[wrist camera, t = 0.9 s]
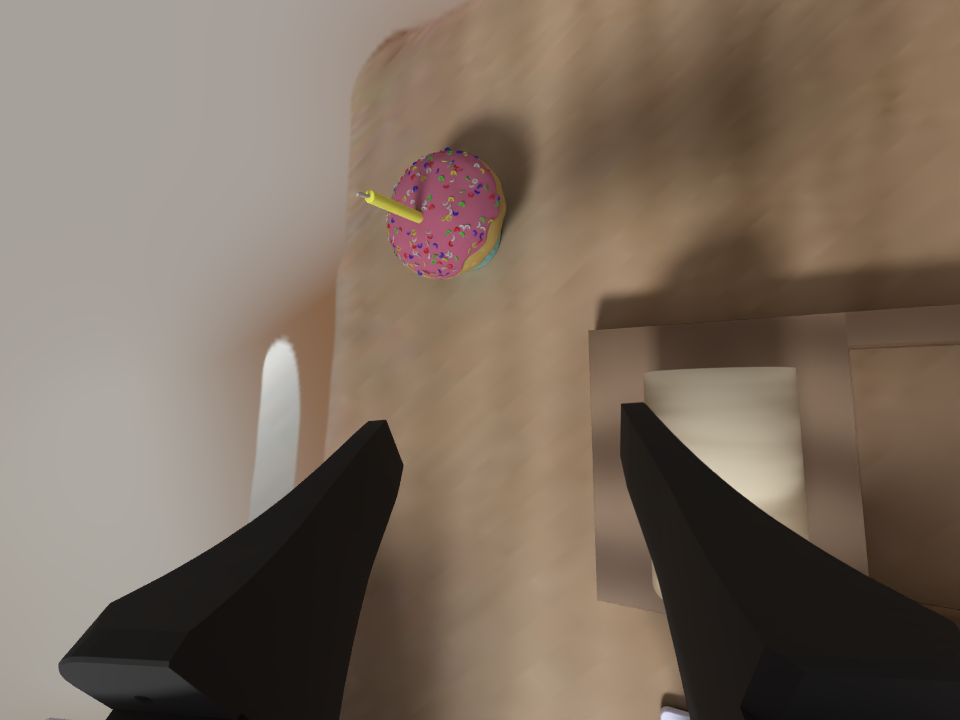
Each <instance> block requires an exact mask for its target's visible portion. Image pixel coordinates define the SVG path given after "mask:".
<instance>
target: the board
mask: <svg viewBox="0 0 960 720" xmlns="http://www.w3.org/2000/svg"><path fill="white" fill-rule="evenodd" d="M943 345H960V304H953V305H939V306H925V307H911V308H897V309H883V310H869V311H855V312H841V313H827V314H813V315H799V316H785V317H771V318H757V319H743V320H729V321H715V322H701V323H687V324H672V325H658V326H644V327H630V328H616V329H602V330H589V360H590V390H591V421H592V451H593V482H594V512H595V542H596V573H597V600H599V601H604V602H609V603H614V604H619V605H624V606H629V607H634V608H638V609H643V610H648V611H653V612H658V613H663V614H666V611H665V607H664V602H663V600H662V599H661V598H660V597H659V596H658V594H657V593H656V592H655V590H654V587H653V581H652V559H651V556H650V553H649V550H648V547H647V545H646V542H645V539H644V536H643V533H642V530H641V527H640V524H639V521H638V518H637V516H636V513H635V510H634V507H633V504H632V501H631V498H630V495H629V492H628V489H627V485H626V481H625V476H624V472H623V467H622V462H621V458H620V427H621V404H622V403H636V402H644V379H643V373H644V372H651V371H663V370H679V369H699V368H729V367H793V368H796V375H797V388H798V401H799V414H800V426H801V439H802V452H803V465H804V477H805V490H806V503H807V516H808V528H809V541H810V542H811V543H813V544H814V545H816V546H817V547H819V548H821V549H822V550H824V551H825V552H827V553H829V554H830V555H832V556H834V557H835V558H837V559H839V560H841V561H842V562H844V563H846V564H847V565H849V566H851V567H853V568H854V569H856V570H858V571H859V572H861V573H863V574H865V575H866V576H868V577H869V572H868V561H867V550H866V539H865V528H864V516H863V505H862V494H861V483H860V472H859V461H858V450H857V439H856V428H855V417H854V406H853V395H852V384H851V372H850V361H849V350H848V349H870V348H894V347H919V346H943ZM644 403H645V402H644ZM921 605H923V606H925V607H926V608H928V609H930V610H932V611H934V612H936V613H938V614H940V615H942V616H944V617H945V618H947V619H949V620H951V621H953V622H954V623H955V624H956V625H957V626H958V627H959V628H960V610H957V609H950V608H944V607H937V606H931V605H924V604H921Z"/></svg>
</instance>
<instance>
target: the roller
mask: <svg viewBox="0 0 960 720" xmlns="http://www.w3.org/2000/svg"><path fill="white" fill-rule="evenodd" d="M643 379H644V402H645V404H646V405H647V406H648V407H649V408H650V409H651V410H652V411H653V412H654V413H655V415H656V416H657V417H658V418H659V419H660V420H661V421H662V422H663V423H664V424H665V425H666V426H667V427H668V428H669V430H670V431H671V432H672V433H673V434H674V435H675V436H676V437H677V438H678V439H679V440H680V441H681V442H682V443H683V444H684V445H685V446H687V447H688V448H689V449H690V450H691V451H692V452H693V453H694V454H695V455H696V456H697V457H698V458H699V459H700V460H701V461H702V462H704V463H705V464H706V465H707V466H708V467H709V468H710V469H711V470H713V471H714V472H715V473H716V474H717V475H718V476H720V477H721V478H722V479H723V480H724V481H725V482H727V483H728V484H729V485H730V486H732V487H733V488H734V489H735V490H737V491H738V492H739V493H740V494H742V495H743V496H744V497H746V498H747V499H748V500H750V501H751V502H752V503H753V504H755V505H756V506H757V507H759V508H760V509H762V510H763V511H764V512H766V513H767V514H769V515H770V516H771V517H773V518H774V519H776V520H777V521H779V522H780V523H782V524H783V525H785V526H786V527H788V528H789V529H791V530H793V531H794V532H796V533H797V534H799V535H800V536H802V537H803V538H805V539H806V540H808V541H809V528H808V516H807V503H806V490H805V477H804V465H803V452H802V439H801V426H800V414H799V401H798V388H797V375H796V368H793V367H729V368H699V369H679V370H663V371H651V372H644V373H643ZM809 542H810V541H809ZM652 581H653V587H654V590H655V592H656V593H657V594H658V596H659V597H660V598H661V599H662V600H663V598H662V594H661V590H660V586H659V582H658V578H657V575H656V572H655V568H654V565H653V562H652Z"/></svg>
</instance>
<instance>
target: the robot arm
mask: <svg viewBox="0 0 960 720" xmlns="http://www.w3.org/2000/svg"><path fill="white" fill-rule="evenodd" d="M620 458H621V462H622V467H623V472H624V476H625V481H626V485H627V489H628V492H629V495H630V498H631V501H632V504H633V507H634V510H635V513H636V516H637V518H638V521H639V524H640V527H641V530H642V533H643V536H644V539H645V542H646V545H647V547H648V550H649V553H650V556H651V559H652V562H653V565H654V568H655V572H656V575H657V578H658V582H659V586H660V590H661V594H662V598H663V602H664V607H665V611H666V615H667V619H668V623H669V627H670V632H671V636H672V640H673V644H674V649H675V653H676V657H677V662H678V666H679V671H680V675H681V680H682V684H683V689H684V693H685V698H686V702H687V707H688V711H689V712H686V711H683V710H679V709H676V708H672V707H668V706H665V707H662V709H661V711H660V720H960V628H959V627H958V626H957V625H956V624H955V623H954V622H953V621H951V620H949V619H947V618H945V617H944V616H942V615H940V614H938V613H936V612H934V611H932V610H930V609H928V608H926V607H925V606H923V605H921V604H919V603H917V602H915V601H913V600H911V599H909V598H907V597H905V596H904V595H902V594H900V593H898V592H896V591H894V590H892V589H890V588H888V587H886V586H885V585H883V584H881V583H879V582H877V581H875V580H873V579H872V578H870V577H868V576H866V575H865V574H863V573H861V572H859V571H858V570H856V569H854V568H853V567H851V566H849V565H847V564H846V563H844V562H842V561H841V560H839V559H837V558H835V557H834V556H832V555H830V554H829V553H827V552H825V551H824V550H822V549H821V548H819V547H817V546H816V545H814V544H813V543H811V542H809V541H808V540H806V539H805V538H803V537H802V536H800V535H799V534H797V533H796V532H794V531H793V530H791V529H789V528H788V527H786V526H785V525H783V524H782V523H780V522H779V521H777V520H776V519H774V518H773V517H771V516H770V515H769V514H767V513H766V512H764V511H763V510H762V509H760V508H759V507H757V506H756V505H755V504H753V503H752V502H751V501H750V500H748V499H747V498H746V497H744V496H743V495H742V494H740V493H739V492H738V491H737V490H735V489H734V488H733V487H732V486H730V485H729V484H728V483H727V482H725V481H724V480H723V479H722V478H721V477H720V476H718V475H717V474H716V473H715V472H714V471H713V470H711V469H710V468H709V467H708V466H707V465H706V464H705V463H704V462H702V461H701V460H700V459H699V458H698V457H697V456H696V455H695V454H694V453H693V452H692V451H691V450H690V449H689V448H688V447H687V446H685V445H684V444H683V443H682V442H681V441H680V440H679V439H678V438H677V437H676V436H675V435H674V434H673V433H672V432H671V431H670V430H669V428H668V427H667V426H666V425H665V424H664V423H663V422H662V421H661V420H660V419H659V418H658V417H657V416H656V415H655V413H654V412H653V411H652V410H651V409H650V408H649V407H648V406H647V405H646V404H645V403H644V402H636V403H622V404H621V427H620ZM403 466H404V465H403V463H402V460H401V457H400V455H399V452H398V450H397V447H396V444H395V442H394V439H393V436H392V434H391V431H390V429H389V426H388V423H387V421H386V420H378V421H368V422H367V423H366V424H365V425H363V426H362V427H361V428H360V429H359V430H358V431H357V432H356V433H355V434H354V435H353V436H351V437H350V438H349V439H348V440H347V441H346V442H345V443H344V444H343V445H342V446H341V447H340V448H339V449H338V450H337V451H336V452H335V453H333V454H332V455H331V456H330V457H329V458H328V459H327V460H326V461H325V462H324V463H323V464H322V465H321V466H320V467H318V468H317V469H316V470H315V471H314V472H313V473H312V474H310V475H309V476H308V477H307V478H306V479H305V480H304V481H302V482H301V483H300V484H299V485H298V486H297V487H295V488H294V489H293V490H292V491H291V492H290V493H288V494H287V495H286V496H285V497H283V498H282V499H281V500H280V501H278V502H277V503H276V504H274V505H273V506H272V507H270V508H269V509H268V510H266V511H265V512H264V513H262V514H261V515H260V516H258V517H257V518H256V519H254V520H253V521H251V522H250V523H248V524H247V525H246V526H244V527H242V528H241V529H239V530H238V531H237V532H235V533H234V534H232V535H231V536H229V537H228V538H226V539H225V540H223V541H222V542H220V543H219V544H217V545H215V546H214V547H212V548H211V549H209V550H207V551H206V552H204V553H202V554H201V555H199V556H197V557H196V558H194V559H193V560H190V561H189V562H187V563H185V564H184V565H182V566H180V567H178V568H177V569H175V570H173V571H171V572H169V573H168V574H166V575H164V576H162V577H160V578H158V579H156V580H155V581H152V582H151V583H149V584H147V585H145V586H143V587H141V588H139V589H137V590H135V591H133V592H131V593H129V594H127V595H126V596H124V597H122V598H120V599H118V600H115V601H114V602H111V603H110V604H109V605H108V606H107V607H106V608H105V610H104V611H103V612H102V613H101V614H100V615H99V617H98V618H97V619H96V620H95V621H94V622H93V624H92V625H91V626H90V627H89V628H88V629H87V631H86V632H85V633H84V634H83V635H82V637H81V638H80V639H79V640H78V641H77V643H76V644H75V645H74V646H73V647H72V648H71V649H70V650H69V652H68V653H67V654H66V655H65V656H64V657H63V658H62V660H61V661H60V662H59V672H60V674H61V675H62V677H63V678H64V679H65V680H66V681H68V682H69V683H71V684H72V685H73V686H75V687H76V688H78V689H80V690H81V691H83V692H85V693H86V694H88V695H90V696H91V697H93V698H94V699H96V700H98V701H99V702H101V703H103V704H104V705H106V706H108V707H109V708H111V709H113V710H112V712H111V713H110V715H109V716H108V717H107V719H106V720H339V716H340V710H341V704H342V698H343V692H344V686H345V681H346V676H347V671H348V666H349V661H350V656H351V651H352V646H353V641H354V637H355V633H356V628H357V624H358V619H359V615H360V610H361V606H362V603H363V599H364V595H365V591H366V587H367V583H368V579H369V575H370V572H371V569H372V566H373V563H374V560H375V557H376V554H377V551H378V549H379V546H380V543H381V540H382V538H383V535H384V532H385V529H386V526H387V524H388V521H389V518H390V515H391V512H392V509H393V507H394V504H395V501H396V498H397V494H398V490H399V486H400V481H401V476H402V471H403ZM47 720H67V719H57V718H49V719H47Z"/></svg>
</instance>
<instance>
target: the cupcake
mask: <svg viewBox="0 0 960 720" xmlns="http://www.w3.org/2000/svg"><path fill="white" fill-rule="evenodd" d="M447 149H448V150H449V151H448V150H447ZM430 154H431V155H430ZM430 154H428V155H426V156H425V157H421V158H420V159H419V160H418V162H414V163H413V166H411V167H409V168H408V169H407V170H406V171H407V172H406V171H405V175H404V176H402V177H401V178H400V181H398V184H396V185H394V187H395V186H396V187H395V189H394V193H393V196H392V199H390V198H388V197H386V196H383V195H381V194H379V193H377V192H375V191H372V190H368V191H367V192H366V194H364V193H362V192H358V193H356V195H357V196H361V197H363V198H365V200H366V202H368V203H370V204H372V205H375V206H377V207H380V208H382V209H385V210H387V211H388V213H387V214H386V217H387V220H386V221H387V228H388V230H387V234H388V235H389V238H388V241H390V242H391V246H392V248H393V250H394V253H395V254H396V256H397V257H398V258H399V259H400V260H401V261H402V262H403V264H404V265H405V266H407V267H408V268H409V269H411V270H412V271H414V272H415V273H417V274H419V275H421V276H423V277H425V278H437V279H451V278H453V277H455V276H457V275H459V274H462V273H465V272H467V271H469V270H475V269H478V268H480V267H482V266H484V265H485V264H487V263H488V262H489V261H490V260H491V259H492V258H493V256H494V255H495V253H496V251H497V249H498V247H499V244H500V238H501V229H502V225H503V219H504V216H505V213H506V202H505V198H504V194H503V190H502V186H501V182H500V180H499V178H498V176H497V175H496V174H495V173H494V172H493V171H492V170H491V169H490V168H489V166H488V165H487V164H486V163H485V162H483V161H482V160H480V159H479V158H477V157H478V156H476V157H475V156H473V155H471V154H469V153H467V152H463V151H451V150H450V149H449V148H446V149H445V151H440V152H437V153H433V154H432V153H430ZM422 158H423V159H422Z"/></svg>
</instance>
